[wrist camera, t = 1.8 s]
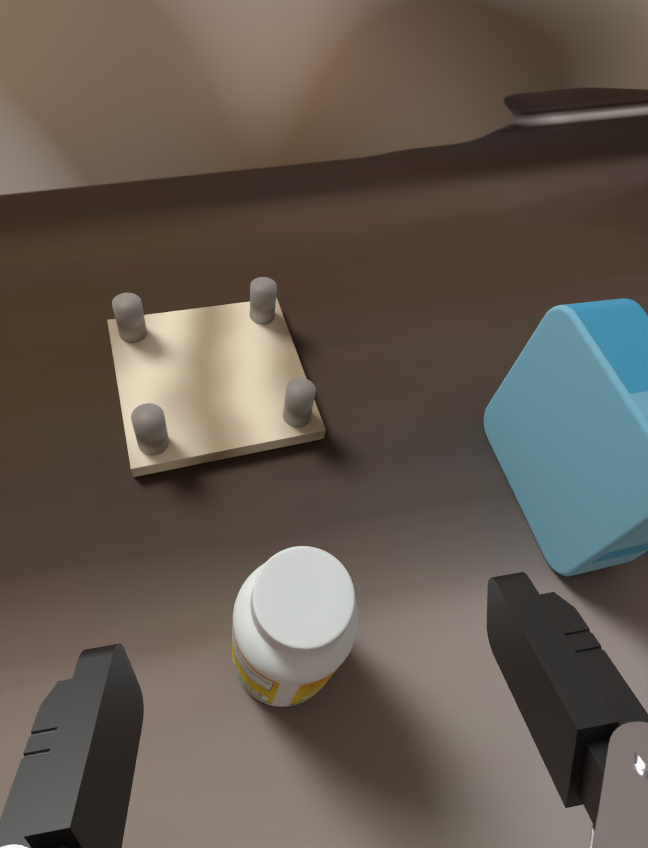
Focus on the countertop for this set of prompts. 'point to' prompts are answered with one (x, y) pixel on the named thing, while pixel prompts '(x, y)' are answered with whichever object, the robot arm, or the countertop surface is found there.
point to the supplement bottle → (293, 625)
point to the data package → (579, 434)
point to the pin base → (209, 382)
